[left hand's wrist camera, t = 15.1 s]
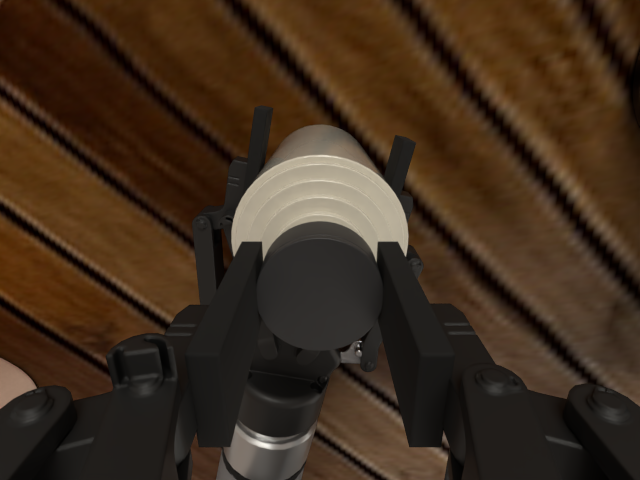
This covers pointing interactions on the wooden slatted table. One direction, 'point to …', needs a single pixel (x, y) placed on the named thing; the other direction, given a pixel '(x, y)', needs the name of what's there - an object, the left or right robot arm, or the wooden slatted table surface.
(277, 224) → the bottle
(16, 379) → the anatomical model
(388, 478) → the wooden slatted table surface
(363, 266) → the cap
